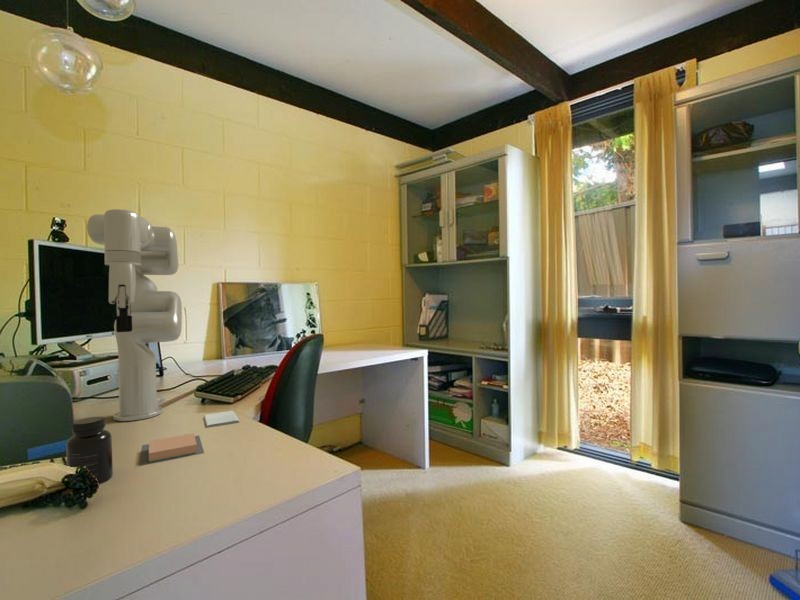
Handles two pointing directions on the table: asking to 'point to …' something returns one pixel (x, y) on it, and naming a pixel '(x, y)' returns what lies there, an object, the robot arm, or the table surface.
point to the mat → (146, 461)
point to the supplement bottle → (91, 448)
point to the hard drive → (220, 419)
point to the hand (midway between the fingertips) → (124, 331)
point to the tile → (172, 447)
